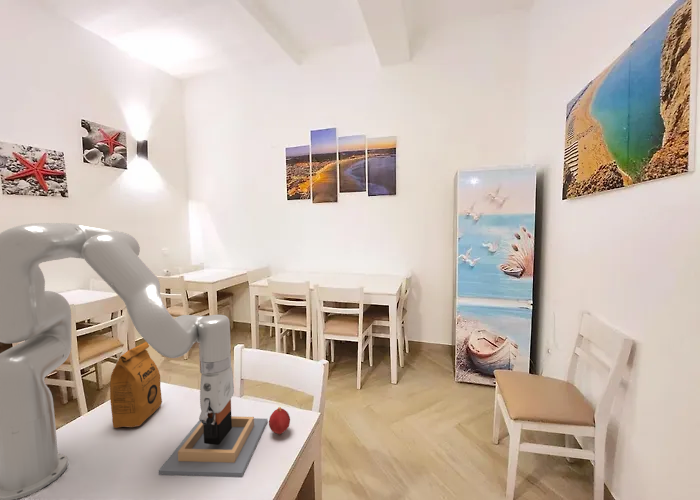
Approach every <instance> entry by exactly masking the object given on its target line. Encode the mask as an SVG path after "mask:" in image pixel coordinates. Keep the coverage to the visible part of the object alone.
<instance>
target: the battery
mask: <svg viewBox="0 0 700 500" xmlns="http://www.w3.org/2000/svg"><path fill="white" fill-rule="evenodd" d="M209 410H212V408H209ZM212 416H213V413H208V418H211V419H212ZM231 416H232V398H231V399H230V400H229V402H228V403H227V405H226V406H225V407H224V409H223V410H222V411H221V412H220V413H216V422H217V432H218V436H217V438H205V437H204V443H205V444H214V445H219V444H220V443H221V442H222V440H223V439H224V438H225V436H226V435H227V434H228V433H229V431H230V430H231V429H232V419H231ZM203 427H204V425H203Z"/></svg>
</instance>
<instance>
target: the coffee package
mask: <svg viewBox="0 0 700 500" xmlns="http://www.w3.org/2000/svg"><path fill="white" fill-rule="evenodd" d="M149 347H150V345H149V344H148V343H147V342H146V341H145V342H143V343H141V344H138V345H137V346H134V347H132V348H131V349H128V350H127V351H126V352H124V353H123V354H121V355H120V356H119V358H118V360H117V362H116V364H115V367H114V368H113V370H112V373H111V375H110V382H109V383H110V384H109V393H110V394H109V397H110V409H111V418H112V419H111V420H112V427H113V428H114V429H117V428H123V427H127V428H134V427H140V426H141V425H142V424H143V423H144V422H145V421H146V420H147V419H148V418H150V417H151V416H152V415H153V414H154V413H155V412H156V411H157V410H158V409H159V408H160V407H161V405H162V403H163V399H162V390H161V389H162V388H161V374H160V370H159V368H158V366H157V365H156V362H155V361H154V360H153V359H152V357H151V356H150V354H149V352H148V351H149V350H147V349H148V348H149Z"/></svg>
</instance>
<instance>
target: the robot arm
mask: <svg viewBox="0 0 700 500" xmlns="http://www.w3.org/2000/svg"><path fill="white" fill-rule="evenodd" d="M140 247H141V246H140V244H139V241H138V239H136V238H135V237H134V236H133V235H131V234H129V233H126V232H123V231H118V230H111V229H107V228H106V229H105V228H101V227H100V228H99V227H94V226H88V225H82V224H76V223H68V222H61V223H59V222H58V223H57V222H56V223H55V222H50V223H49V222H39V223H26V224H21V225H17V226H14V227H11V228H8V229H6V230H3V231H1V232H0V343H3V344H15V343H18V344H16V345H14V346H11V347H10V348H8V349H6V350H4V351H2V352H0V500H18V499H20V498H24V497H26V496H29V495H32V494H34V493H36V492H38V491H40V490H42V489H44V488H45V487H47V486H49V485H50V484H51V483H53V482H54V481H55V480H57V479H58V478H59V477H60V476H61V475H62V474H63V473H64V472H65V471H66V469H67V467H68V465H69V464H68V463H69V461H68V457H67V456H66V455H65V454H62V453H59V450H58V449H59V448H58V439H57V430H56V429H57V428H56V427H57V426H56V418H55V417H56V416H55V407H54V398H53V395H52V391H51V390H50V387H48V385H47V383H46V382H45V378H46V377H47V376H48V375H50V374H51V373H52V372H54V370H56V369H58V368H59V367H60V366H61V365H62V366H63V364H64V363H65V362H66V361H67V360H68V358H69V357H70V354H71V351H72V343H73V342H72V309H71V305H70V304H69V302H68V299H66V298H65V297H64V296H63V295H61V294H60V293H58V292H55V291H51V290H46V289H45V288H46V287H45V285H46V280H45V276H44V274H43V271H42V269H41V267H40V264H42V263H46V262H52V261H59V260H64V259H69V258H74V259H75V258H76V259H81V260H84V261H85V262H86V263H87V265H88V266H90V268H91V269H92V270H93V271H94V272H95V273H96V274H97V275H98V276H99V277H100V278H101V279H102V280H103V282H105V283H106V284H107V285H108V287H110V288H111V289H112V291H114V293H116V295H117V296H118V297H119V298H120V299H121V300H122V302H123V303H124V304H125V308H126V311H127V313H128V315H129V317H130V318H129V319H130V320H131V321H132V324H133V326H134V328H135V329H136V330H135V331H137V332H138V334H139V335H140V336H141V338H142V339H143V340H144V341H145V342H147V343H148V345H149V347H151V348H152V349H153V350H155V351H156V352H157V353H158V354H160V355H161V356H162V357H165V358H169V359H177V358H180V357H183V356H184V355H186V354H187V353H188V352H189V351H190V349H191V348H192V347H193V345H194V344H195V343H198V356H199V357H198V359H199V372H200V374H201V376H200V387H199V389H200V390H199V400H200V401H199V403H200V404H199V405H200V414H199V417H198V421H199V420H200V421H201V422H202V423H203V425H204V437H205V438H217V436H218V432H217V422H216V413H220V412H221V411H222V410H223V409H224V407H225V406H226V405H227V403H228V402H229V400H230V399H231V400H232V398H233V396H234V394H235V385H234V375H233V373H234V372H233V369H232V351H231V350H232V349H231V348H232V347H231V324H230V323H231V321H230V318H229V317H228V316H227V315H224V314H210V315H207V316H206V315H193V314H182V315H179V316H177V317H175V318H174V317H173V315H172V314H170V312H169V311H168V310H167V308H166V306H165V305H164V302H163V299H162V296H161V284H160V280H159V277H157V276H156V274H155V273H154V272H153V271H152V270H151V269H150V268H149V267H148V266H147V265H146V263H144V262H143V260H142V259H141V258H140V257H139V255H140V250H141V248H140ZM209 408H212V410H209ZM208 413H213V416H212V419H211V418H208Z"/></svg>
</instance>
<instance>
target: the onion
mask: <svg viewBox="0 0 700 500" xmlns="http://www.w3.org/2000/svg"><path fill="white" fill-rule="evenodd" d="M290 424H291V417H290V414H289V412H288V411H287V410H285V409H284V408H282V407H280V406H279V407H278V408H277V409H275V410H274V411H273V412H272V413H271V415H270V416H269V420H268V426H269V429H270V431H271V432H273V433H275V434H277V435H279V436H280V435H282V434H283V433H284V432H286V431H287V429H289V427H290Z"/></svg>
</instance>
